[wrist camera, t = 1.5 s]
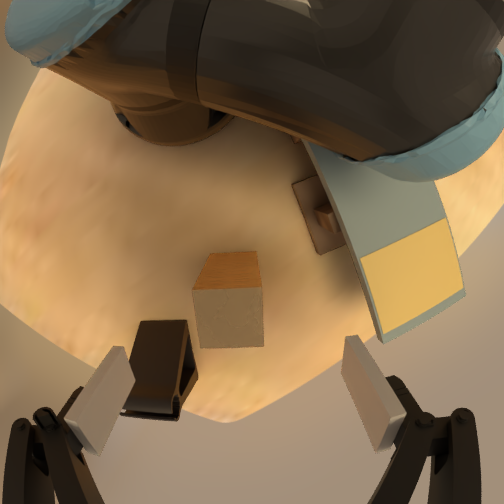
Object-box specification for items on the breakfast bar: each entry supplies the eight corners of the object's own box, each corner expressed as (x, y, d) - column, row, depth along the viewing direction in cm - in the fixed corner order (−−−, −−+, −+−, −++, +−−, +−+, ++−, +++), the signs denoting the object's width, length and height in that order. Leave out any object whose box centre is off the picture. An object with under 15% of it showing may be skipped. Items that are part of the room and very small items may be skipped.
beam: (287, 111, 22) (289, 93, 19) (377, 87, 22) (389, 70, 18) (377, 338, 23) (392, 352, 19) (457, 293, 22) (478, 299, 18)
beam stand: (266, 125, 27) (271, 108, 21) (368, 94, 26) (393, 77, 20) (317, 252, 31) (334, 269, 24) (410, 212, 30) (441, 219, 23)
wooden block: (210, 253, 30) (192, 289, 20) (256, 251, 30) (261, 287, 20) (214, 296, 32) (200, 348, 21) (257, 294, 32) (263, 346, 21)
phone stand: (198, 377, 34) (184, 444, 23) (157, 376, 34) (131, 438, 23) (187, 319, 32) (161, 382, 20) (141, 319, 32) (102, 377, 20)
